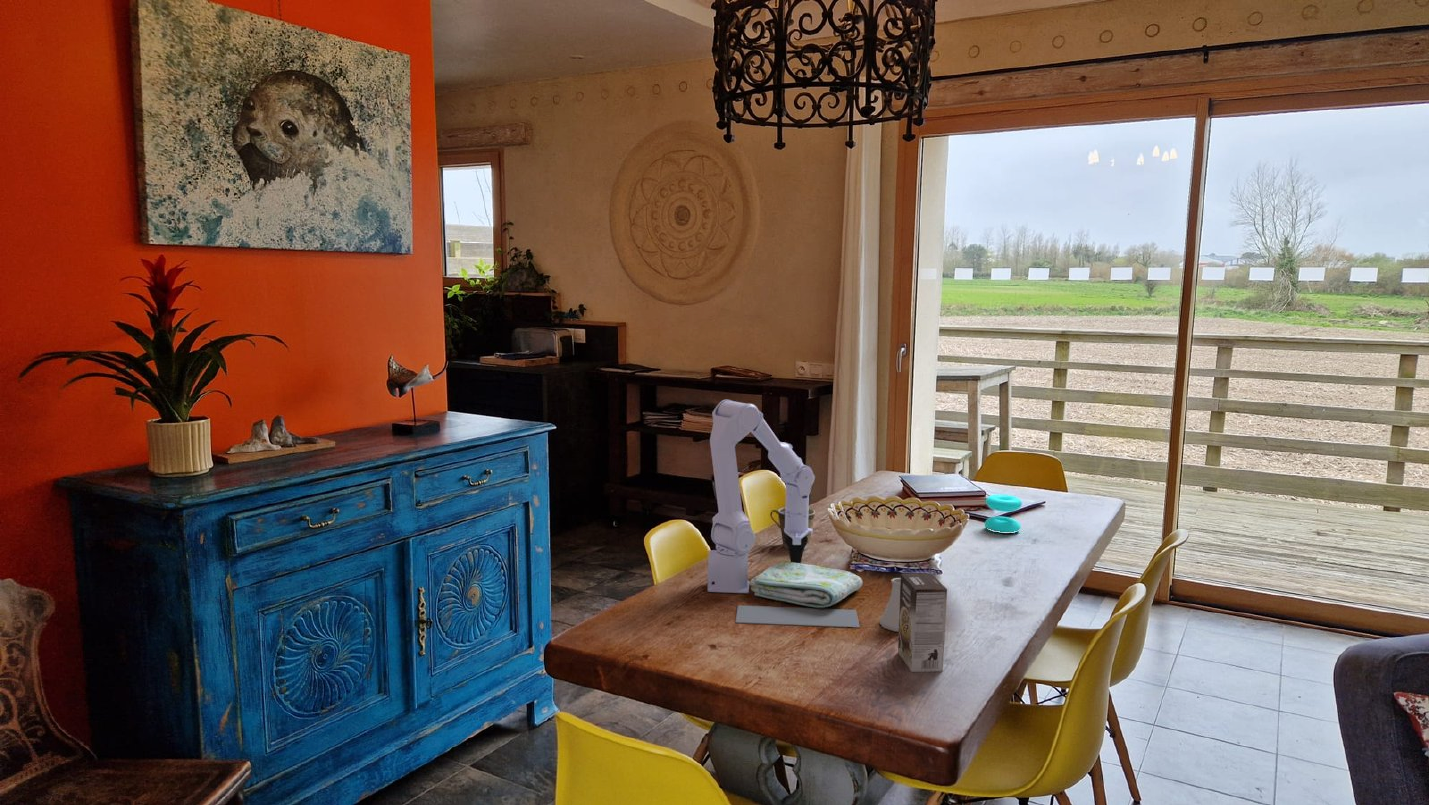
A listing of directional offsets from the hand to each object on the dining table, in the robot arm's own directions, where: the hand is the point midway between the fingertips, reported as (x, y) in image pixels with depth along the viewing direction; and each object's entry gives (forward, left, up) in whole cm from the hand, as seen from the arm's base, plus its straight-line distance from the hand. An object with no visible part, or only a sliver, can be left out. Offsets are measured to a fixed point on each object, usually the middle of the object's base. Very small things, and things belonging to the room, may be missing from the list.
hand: (795, 565), depth 224 cm
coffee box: (+23, -51, -2) cm, 56 cm away
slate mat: (0, -30, -2) cm, 30 cm away
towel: (+2, -15, -2) cm, 15 cm away
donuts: (+61, +46, -2) cm, 76 cm away
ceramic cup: (-1, +23, -2) cm, 23 cm away
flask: (+21, -33, -2) cm, 39 cm away
